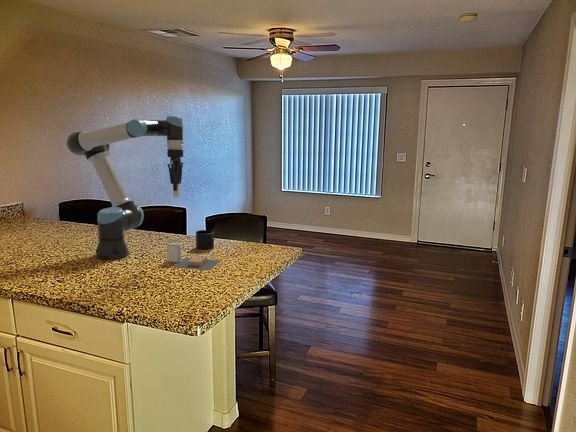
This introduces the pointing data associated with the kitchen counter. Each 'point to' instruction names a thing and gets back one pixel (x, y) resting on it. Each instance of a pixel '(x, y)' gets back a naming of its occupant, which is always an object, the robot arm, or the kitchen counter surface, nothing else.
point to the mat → (206, 266)
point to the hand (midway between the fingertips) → (176, 197)
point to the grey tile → (174, 252)
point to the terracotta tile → (197, 261)
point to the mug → (205, 239)
